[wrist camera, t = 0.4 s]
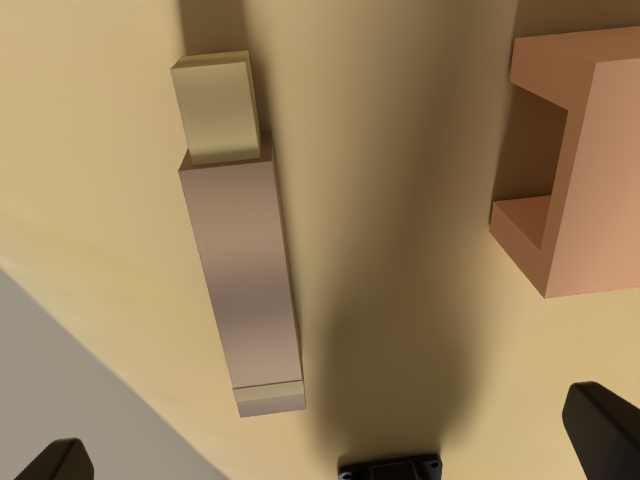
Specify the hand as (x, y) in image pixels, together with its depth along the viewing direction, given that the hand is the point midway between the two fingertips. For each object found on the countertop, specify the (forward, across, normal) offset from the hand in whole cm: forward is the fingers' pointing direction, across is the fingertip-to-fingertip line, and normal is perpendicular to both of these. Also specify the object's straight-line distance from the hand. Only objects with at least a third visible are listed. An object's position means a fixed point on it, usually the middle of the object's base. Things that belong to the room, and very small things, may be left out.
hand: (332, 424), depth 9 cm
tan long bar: (+12, +2, +2) cm, 12 cm away
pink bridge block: (+12, -11, -1) cm, 16 cm away
